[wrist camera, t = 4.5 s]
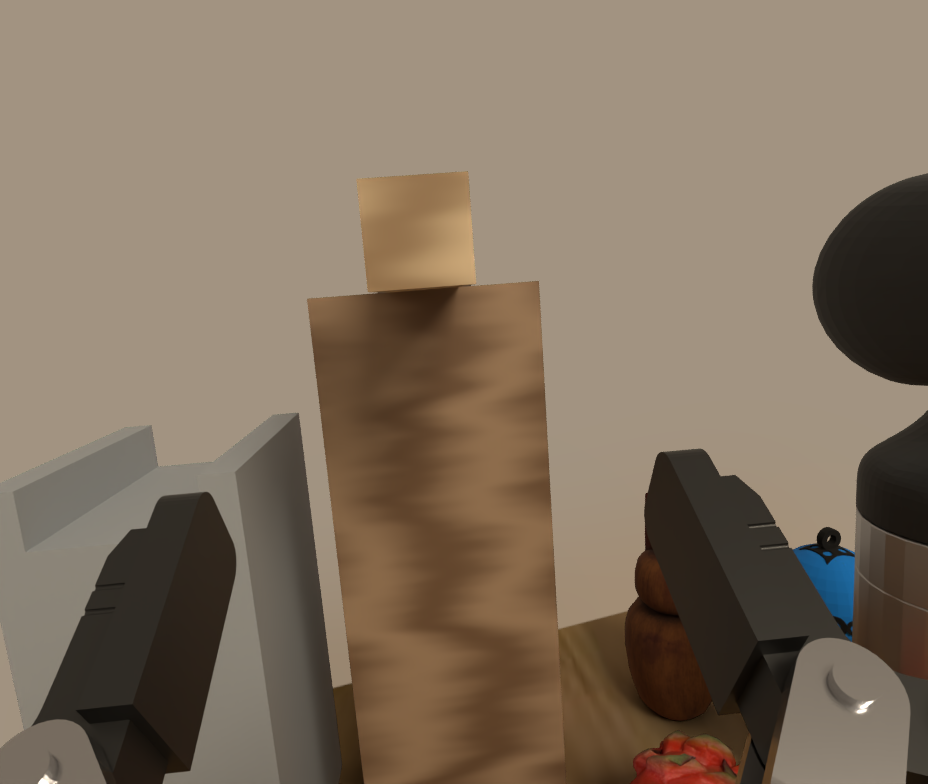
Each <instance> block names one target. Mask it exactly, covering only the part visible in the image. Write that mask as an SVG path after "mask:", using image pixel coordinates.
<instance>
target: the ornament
mask: <svg viewBox="0 0 928 784" xmlns="http://www.w3.org/2000/svg"><path fill="white" fill-rule="evenodd" d="M829 536H830V540H829V541H828V542H827V539H828V537H829ZM840 541H841V536H840V533H839V532H838V531H837V530H835V529H832V528H830V527H826V528H823V529H822V530H820V532H819V533H818V535H817V544H809V545H804V546H800V547H798V548H796V549H793V551H794V553H795V555H796V556H797V558H798V560H799V561H800V563H801V564H802V566H803V568H804V569H805V571H806V573H807V574H808V576H809V578H810V579H811V581H812V583H813V584H814V586H815V588H816V589H817V591H818V592H819V594H820V596H821V597H822V599H823V601H824V602H825V604H826V606H827V607H828V609H829V611H830V612H831V614H832V616H833V617H834V619H835V620H836V622H837V624H838V625H839V627H840V628H841V630H842V631H843V633H844V634H845V635H846V636H847V638H848V639H849V640H850V641H851V642H852V628H853V599H854V571H855V552H853V551H850V550H848V549H846V548H843V547H840V546H838V545H839V544H840Z"/></svg>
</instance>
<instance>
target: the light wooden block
mask: <svg viewBox="0 0 928 784" xmlns="http://www.w3.org/2000/svg"><path fill="white" fill-rule="evenodd" d="M468 178H469V177H468V171H465V172H451V173H436V174H422V175H408V176H407V175H406V176H392V177H377V178H362V179H357V189H358V198H359V208H360V218H361V228H362V238H363V247H364V258H365V268H366V277H367V288H368V292H378V293H389V292H402V291H415V290H428V289H441V288H454V287H467V286H471V285H472V284H476V277H475V262H474V249H473V233H472V219H471V206H470V191H469V179H468Z"/></svg>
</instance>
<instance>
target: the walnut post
mask: <svg viewBox="0 0 928 784" xmlns="http://www.w3.org/2000/svg"><path fill="white" fill-rule="evenodd" d="M307 302H308V311H309V319H310V328H311V336H312V345H313V353H314V362H315V370H316V378H317V387H318V395H319V404H320V413H321V421H322V430H323V438H324V447H325V455H326V464H327V472H328V481H329V489H330V497H331V507H332V515H333V524H334V532H335V540H336V549H337V558H338V566H339V575H340V583H341V591H342V600H343V609H344V617H345V626H346V634H347V643H348V650H349V660H350V668H351V676H352V685H353V694H354V702H355V711H356V719H357V728H358V737H359V745H360V754H361V762H362V771H363V779H364V784H566V768H565V750H564V732H563V713H562V695H561V677H560V659H559V640H558V624H557V623H558V622H557V604H556V586H555V568H554V549H553V532H552V514H551V495H550V476H549V458H548V440H547V423H546V422H547V421H546V404H545V385H544V367H543V348H542V330H541V313H540V294H539V281H532V282H521V283H520V282H519V283H506V284H494V285H480V286H467V287H454V288H441V289H428V290H415V291H402V292H389V293H376V294H363V295H350V296H338V297H324V298H311V299H307Z"/></svg>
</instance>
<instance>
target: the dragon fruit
mask: <svg viewBox="0 0 928 784" xmlns="http://www.w3.org/2000/svg"><path fill="white" fill-rule="evenodd" d="M735 765H736V761H735V758H734V755H733V752H732V749H731V748H730V747H728V746H726V745H725V744H724V743H722V742H721V741H720V740H719V739H717V738H715V737H712V736H710V735H708V734H701V735H699V736H695V737H693V738H690V737H689V736H687V735H686V734H685V733H683V732H682V731H680V730H677V731H675V732H673V733H671V734H669V735H668V736H667V737H666V738H664V741H661V743H660V748H650V749H647V750H644V751H642V752H641V753H639V754H638V755H636V756H635V758H634V759H633V767H634V769H635V770H636V772H637V777H636V778H635V779H634V780H633V781H632V782H631V783H630V784H735V781H736V777H737V773H738V769H739V765H737V766H735Z"/></svg>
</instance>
